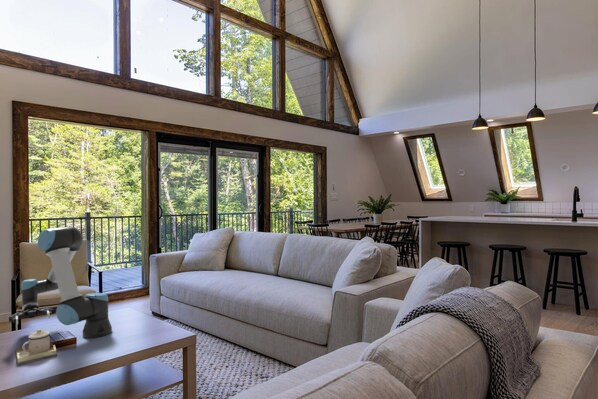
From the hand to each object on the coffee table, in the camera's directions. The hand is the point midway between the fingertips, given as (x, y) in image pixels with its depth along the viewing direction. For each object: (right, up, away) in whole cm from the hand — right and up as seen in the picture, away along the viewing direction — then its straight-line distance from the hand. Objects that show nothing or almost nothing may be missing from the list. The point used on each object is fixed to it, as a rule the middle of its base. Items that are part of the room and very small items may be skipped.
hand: (33, 318), depth 198 cm
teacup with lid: (+7, -15, -8) cm, 19 cm away
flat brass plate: (+5, -16, -5) cm, 18 cm away
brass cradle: (+9, -15, -10) cm, 20 cm away
